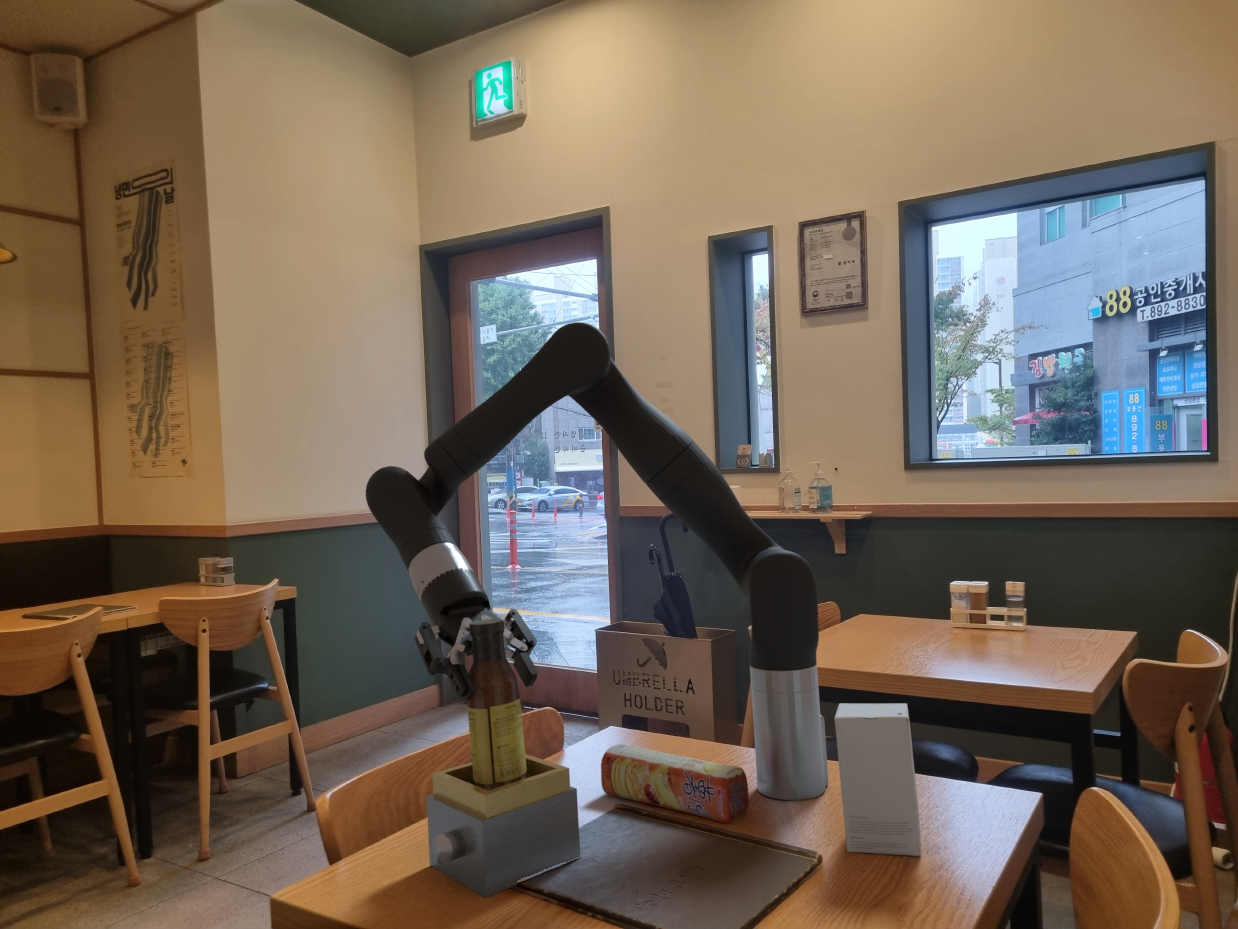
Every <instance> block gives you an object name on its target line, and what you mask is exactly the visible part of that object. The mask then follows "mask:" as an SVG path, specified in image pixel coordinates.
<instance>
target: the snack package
mask: <svg viewBox="0 0 1238 929" xmlns="http://www.w3.org/2000/svg"><path fill="white" fill-rule="evenodd" d="M600 762H601V763H600V776H601V777H600V781H601V788H602V790H603V792H604V794H606V795H608V796H613V797H620V798H624V799H627V800H628V799H629V800H632V801H636V802H640V803H644V804H648V805H649V804H650V805H654V806H657V807H663V808H667V809H669V810H675V811H679V812H684V813H688V814H690V815H696V816H700V817H702V818H707V819H711V820H713V821H718V822H720V823H722V824H731V823H733V822H735V821H736V820H737V819H739V818H740V817H742V816H743V815H744V814H745V813H746V811H747V810H748V807H749V805H750V804H749V803H750V797H749V795H750V793H749V786H748V779H747V775H746V771H744V769H743V768H742V767H740V766H737V765H730V764H729V765H728V764H723V763H717V762H711V761H707V760H705V759H704V760H702V759H698V758H694V757H689V756H684V755H678V754H673V753H668V752H663V751H657V750H653V749H648V748H643V747H640V746H635V745H630V744H626V743H619V744H614V745H612V746H610V747H608V748H607V749H606V751H605V752H604V754H603V756H602V758H601V760H600Z"/></svg>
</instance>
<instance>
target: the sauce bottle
mask: <svg viewBox="0 0 1238 929" xmlns="http://www.w3.org/2000/svg"><path fill="white" fill-rule="evenodd" d="M469 626H470V634H471V636H472V643H473V655H472V658H473V659H472V660H473V662H472V664H471V666H470V668H469V671H468V674H469V676H470V678H471V680H472V682H473V684H474V686H475V689H476V691H475V694H474V695H473V697H472V699H471V700H468V701H467V704H466V708H467V719H468V729H469V740H470V751H471V752H470V753H471V754H470V755H471V762H472V767H473V780H474V781H475V785H476V786H478V787H480V788H482V789H485V790H487V791H489V790H492V789H495V788H498V787H501V786H504V785H507V784H511V783H514V782H517V781H520V780H523V779H526V770H527V769H526V757H525V754H526V750H525V738H524V728H523V718H522V715H523V714H522V704H521V697H520V692H519V685H518V678H517V675H516V673H515V672H514V670H513V668H512V666H511V663H510V662H509V659H508V658H506V656H505V654H506V652H505V648H504V636H503V633H504V630H505V628H504V621H503V619H484V620H477V621H473V622H471V623H470V624H469Z"/></svg>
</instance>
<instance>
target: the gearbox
mask: <svg viewBox="0 0 1238 929" xmlns="http://www.w3.org/2000/svg"><path fill="white" fill-rule="evenodd" d="M525 757H526V769H527V770H526V779H523V780H520V781H517V782H514V783H511V784H507V785H504V786H501V787H498V788H495V789H492V790H489V791H487V790H485V789H482V788H480V787H478V786H476V785H475V781H474V780H473V767H472V761H471V762H467V763H464V764H459V765H456V766H454V767H450V768H446V769H443V770H440V771H436V772H433V773H432V774H431V775H432V791H433V792H432V794H430V795H427V796H426V809H427V811H426V813H427V830H428V831H427V833H428V852H429V866H430V867H432V868H433V869H435V870H437V871H439V872H440V873H443V875H446V876H447V877H448V878H451V879H452V880H454V881H456V882H458V883H459V884H461V885H463V886H464V887H466V888H468V889H470V891H473V892H475V893H476V894H478V895H480V896H482V897H483V898H488V897H491V896H493V895H496V894H497V893H500V892H503V891H505V890H508V889H510V888H512V887H514V886H517V885H518V884H517V881H518V880H520V879H521V878H524V877H527V876H530V875H533V874H535V873H538V872H540V871H542V870H544V869H548V868H549V867H552V866H554V865H557V864H560V863H563V862H568V861H571V860H573V859H575V858H577V857H580V858H581V846H580V845H581V842H580V826H579V824H580V823H579V808H578V789H577V788H576V787H573V786H572V785H571V778H570V777H571V776H570V768H569V767H567V766H564V765H560V764H558V763H554V762H552V761H548V760H545V759H542V758H540V757H537V756H533V755H529V754H527V753H525Z"/></svg>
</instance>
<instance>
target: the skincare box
mask: <svg viewBox="0 0 1238 929" xmlns="http://www.w3.org/2000/svg"><path fill="white" fill-rule="evenodd" d="M908 708H909V707H908V703H904V702H903V703H897V702H896V703H893V702H892V703H848V702H847V703H845V702H844V703H841V702H840V703H839V704H838V706H837V708H836V713H835V715H834V718H833V719H834V726H835V728H834V729H835V736H836V746H837V759H838V760H837V761H838V768H839V769H838V770H839V780H840V792H841V803H842V812H843V822H844V832H845V843H846V850H847V853H862V854H863V853H864V854H879V855H880V854H881V855H895V856H896V855H898V856H899V855H900V856H910V857H911V856H913V857H914V856H915V857H920V856H921V852H922V851H921V849H922V848H921V846H922V844H921V843H922V842H921V826H920V815H919V803H918V792H917V784H916V783H917V782H916V771H915V763H914V761H915V760H914V752H913V743H912V740H913V739H912V732H911V724H910V716H909V715H910V714H909V709H908Z"/></svg>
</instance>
